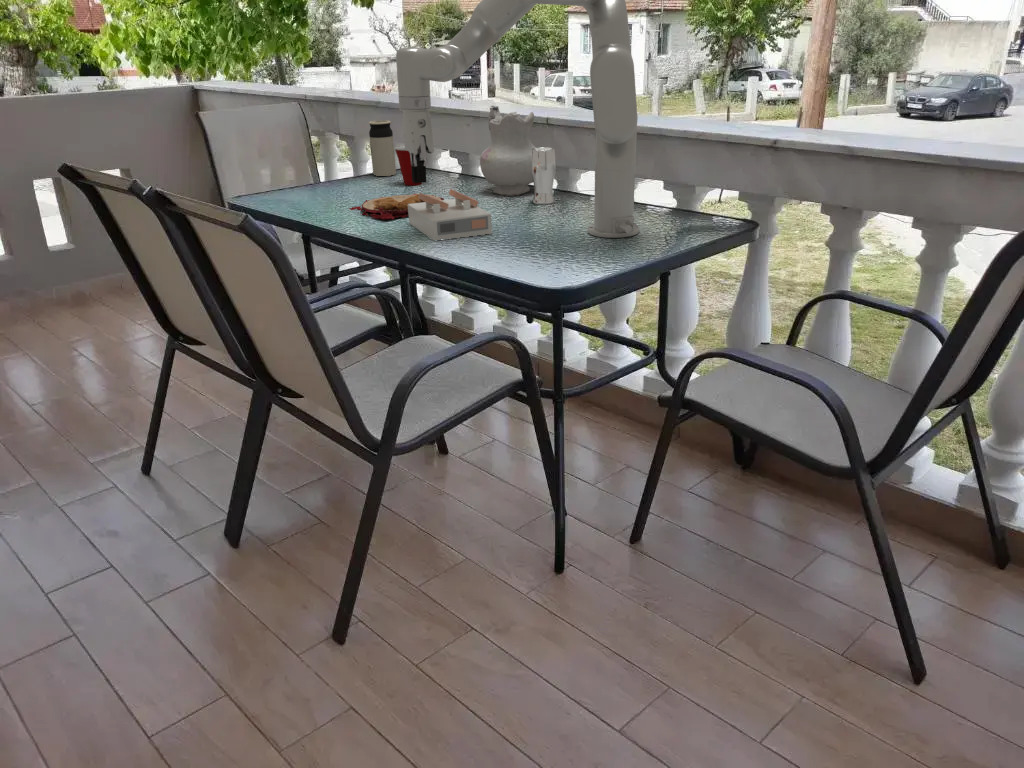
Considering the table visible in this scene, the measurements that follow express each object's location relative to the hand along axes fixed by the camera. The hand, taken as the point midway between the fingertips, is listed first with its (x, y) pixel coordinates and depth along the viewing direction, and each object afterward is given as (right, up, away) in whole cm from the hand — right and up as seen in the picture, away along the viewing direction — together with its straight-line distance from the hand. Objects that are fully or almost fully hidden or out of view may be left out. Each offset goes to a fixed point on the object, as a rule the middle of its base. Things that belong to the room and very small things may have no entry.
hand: (419, 182), depth 195 cm
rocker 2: (+10, -3, +6) cm, 12 cm away
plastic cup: (-9, +16, +65) cm, 68 cm away
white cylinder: (+32, +3, +33) cm, 46 cm away
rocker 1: (+3, -5, +3) cm, 6 cm away
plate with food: (-9, 0, +32) cm, 34 cm away
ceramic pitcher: (+22, +10, +50) cm, 56 cm away
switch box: (+7, -10, +7) cm, 14 cm away
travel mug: (-22, +23, +83) cm, 89 cm away
